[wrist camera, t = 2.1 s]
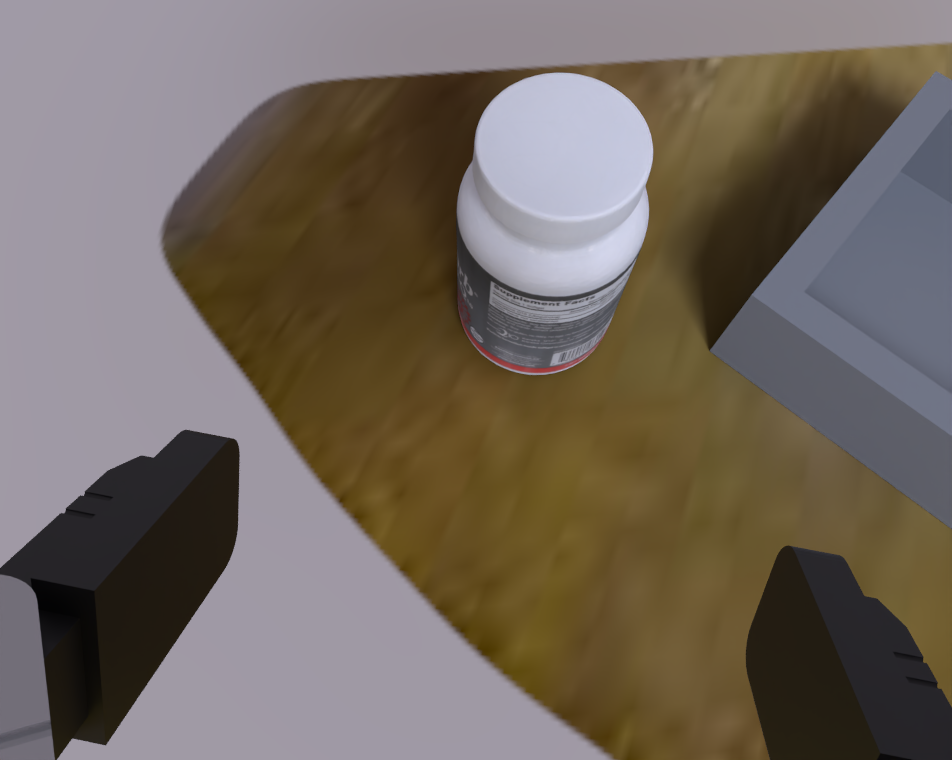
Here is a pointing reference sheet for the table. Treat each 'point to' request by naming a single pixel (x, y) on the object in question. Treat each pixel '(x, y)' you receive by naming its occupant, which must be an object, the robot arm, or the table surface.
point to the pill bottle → (550, 220)
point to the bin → (870, 310)
